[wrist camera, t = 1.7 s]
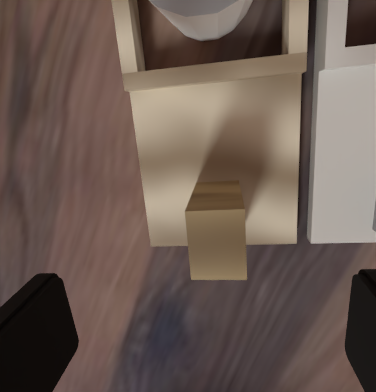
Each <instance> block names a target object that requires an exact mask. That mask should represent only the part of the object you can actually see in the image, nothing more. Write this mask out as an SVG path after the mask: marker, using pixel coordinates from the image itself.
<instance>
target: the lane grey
mask: <svg viewBox="0 0 376 392" xmlns="http://www.w3.org/2000/svg"><path fill="white" fill-rule="evenodd" d="M347 11H348V0H317V9H316V33H315V57H314V80H313V104H312V128H311V152H310V176H309V199H308V223H307V238H308V240H309V241H310V243H359V242H376V44H370V45H362V46H353V47H345V39H346V25H347Z"/></svg>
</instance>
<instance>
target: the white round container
mask: <svg viewBox="0 0 376 392" xmlns="http://www.w3.org/2000/svg"><path fill="white" fill-rule="evenodd" d="M149 1H150V2H151V3H152V4H153V5H154V6H155V7H156V8H157V9H158V10H159V11H160V12H161V13H162V14H163V15H164V16H165V17H166V18H167V19H168V20H169V21H170V22H171V23H172V24H173V25H174V26H175V27H176V28H178V29H179V30H180V31H181V32H182V33H183V34H184V35H185V36H187V37H190V38H193V39H196V40H199V41H208V40H217V39H219V38H221V37H223V36H224V35H226V34H228V33H230V32H231V31H233V30H234V29H235V28H236V26H237V25H238V24H239V23H240V21H241V20H242V19H243V17H244V16H245V15H246V13H247V11H248V9H249V7H250V5H251V3H252V1H253V0H149Z"/></svg>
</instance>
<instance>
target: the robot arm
mask: <svg viewBox="0 0 376 392" xmlns="http://www.w3.org/2000/svg"><path fill="white" fill-rule="evenodd" d="M78 342H79V340H78V335H77V332H76V328H75V324H74V320H73V317H72V313H71V309H70V306H69V302H68V298H67V295H66V291H65V287H64V283H63V280H62V279H61V278H59V277H58V275H57V274H55V273H41V274H37V275H35V276H34V277H33V278H32V279H31V280H30V281H29V282H27V283H26V284H25V285H24V286H23V287H22V288H21V289H20V290H19V291H18V292H17V293H15V294H14V295H13V296H12V297H11V298H10V299H9V300H8V301H7V302H6V303H5V304H4V305H2V306H1V307H0V392H52V391H53V390H54V388H55V386H56V385H57V383H58V381H59V379H60V378H61V376H62V374H63V373H64V371H65V369H66V368H67V366H68V364H69V362H70V361H71V359H72V357H73V356H74V354H75V352H76V350H77V348H78ZM345 351H346V355H347V357H348V360H349V362H350V364H351V366H352V368H353V370H354V372H355V373H356V375H357V377H358V379H359V381H360V383H361V385H362V387H363V389H364V391H365V392H376V269H362V270H360V271H359V273H358V274H355V275H354V276H353V278H352V286H351V294H350V303H349V312H348V321H347V330H346V339H345Z"/></svg>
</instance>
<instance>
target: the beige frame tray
mask: <svg viewBox="0 0 376 392" xmlns="http://www.w3.org/2000/svg"><path fill="white" fill-rule="evenodd" d="M112 7H113V14H114V21H115V28H116V35H117V42H118V49H119V56H120V63H121V70H122V77H123V84H124V91H128V92H130V97H131V105H132V112H133V119H134V127H135V134H136V141H137V148H138V156H139V163H140V170H141V177H142V185H143V192H144V199H145V206H146V214H147V221H148V228H149V235H150V243H151V246H188V251H189V262H190V272H191V280H247V264H246V245H252V244H296V243H297V210H298V177H299V144H300V111H301V78H302V73H304V72H306V67H307V38H308V9H309V0H282V55H277V56H268V57H260V58H251V59H243V60H234V61H226V62H217V63H208V64H200V65H191V66H183V67H174V68H166V69H157V70H149V71H146V70H145V61H144V53H143V45H142V36H141V28H140V20H139V11H138V3H137V0H112Z"/></svg>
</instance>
